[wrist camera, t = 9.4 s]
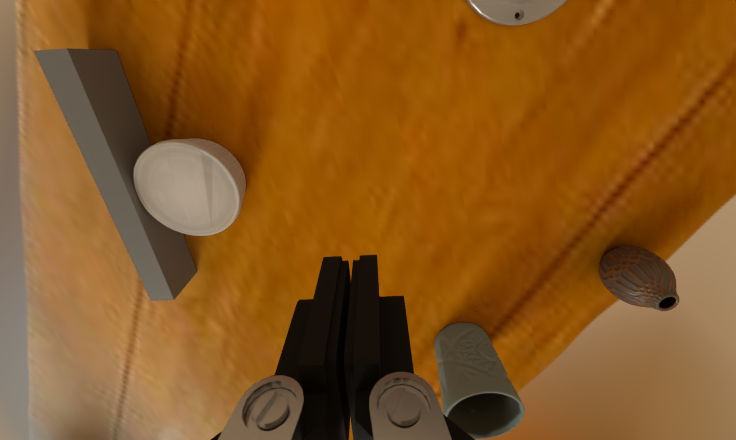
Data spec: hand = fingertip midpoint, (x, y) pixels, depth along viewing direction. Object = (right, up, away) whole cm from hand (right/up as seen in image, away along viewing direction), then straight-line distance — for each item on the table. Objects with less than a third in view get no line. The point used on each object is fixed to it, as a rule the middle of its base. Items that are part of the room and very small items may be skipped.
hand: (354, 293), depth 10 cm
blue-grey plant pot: (+15, -17, +41) cm, 47 cm away
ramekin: (-19, +8, +29) cm, 36 cm away
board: (-26, +7, +29) cm, 40 cm away
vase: (+34, -3, +34) cm, 48 cm away
